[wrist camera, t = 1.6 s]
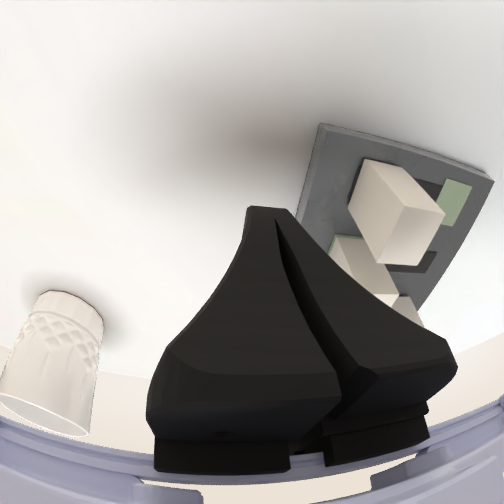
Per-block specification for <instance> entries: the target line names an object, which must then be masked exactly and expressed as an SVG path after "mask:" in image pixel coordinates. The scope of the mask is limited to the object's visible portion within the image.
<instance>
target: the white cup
mask: <svg viewBox="0 0 504 504" xmlns="http://www.w3.org/2000/svg"><path fill="white" fill-rule="evenodd" d="M103 332H104V327H103V321H102V318H101V317H100V316H99V315H98V313H97V312H96V311H95V309H94V308H93V307H91V306H90V305H88V304H87V303H86V302H84V301H83V300H81V299H80V298H78V297H75V296H73V295H70V294H68V293H65V292H59V291H48V292H46V293H44V294H42V295H40V296H39V297H38V299H37V301H36V303H35V305H34V307H33V309H32V311H31V313H30V315H29V318H28V319H27V321H26V322H25V323H24V325H23V327H22V329H21V331H20V333H19V335H18V337H17V339H16V341H15V343H14V345H13V348H12V350H11V352H10V355H9V357H8V360H7V362H6V365H5V367H4V371H3V372H2V375H1V378H0V404H2V405H3V406H4V407H5V408H7V409H8V410H10V411H11V412H13V413H14V414H16V415H17V416H19V417H21V418H23V419H24V420H26V421H28V422H30V423H32V424H35V425H37V426H39V427H42V428H44V429H47V430H50V431H53V432H56V433H59V434H63V435H67V436H72V437H80V438H84V437H88V436H89V430H90V421H91V412H92V404H93V397H94V390H95V383H96V375H97V368H98V363H99V350H100V346H101V341H102V337H103Z"/></svg>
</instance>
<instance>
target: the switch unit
mask: <svg viewBox="0 0 504 504" xmlns="http://www.w3.org/2000/svg"><path fill="white" fill-rule="evenodd" d="M364 159H368V160H373V161H377V162H381V163H386V164H390V165H394V166H398V167H402V168H403V169H404V170H405V171H406V172H407V173H408V174H409V175H410V176H411V177H412V178H413V179H414V180H415V181H416V182H417V183H418V184H419V185H420V186H421V187H422V188H423V189H424V191H425V192H426V193H427V194H428V195H429V196H430V197H431V198H432V199H433V200H434V201H435V203H436V204H437V205H438V206H439V207H440V208H441V209H442V210H443V212H444V213H445V216H444V218H443V220H442V222H441V224H440V226H439V228H438V230H437V232H436V233H435V235H434V237H433V239H432V241H431V243H430V244H429V246H428V248H427V250H426V252H425V253H424V255H423V257H422V259H421V260H420V262H419V264H418V265H417V266H413V265H398V264H384V265H385V266H386V268H387V270H388V272H389V274H390V276H391V278H392V280H393V282H394V284H395V286H396V288H397V290H398V292H399V296H398V297H410V298H411V300H412V302H413V304H414V306H415V308H416V311H418V310H419V308H420V307H421V306H422V304H423V303H424V302H425V300H426V299H427V297H428V296H429V295H430V293H431V292H432V290H433V289H434V287H435V286H436V284H437V283H438V281H439V280H440V278H441V277H442V275H443V274H444V272H445V271H446V269H447V268H448V266H449V265H450V263H451V261H452V260H453V258H454V257H455V255H456V253H457V252H458V250H459V248H460V247H461V245H462V243H463V241H464V240H465V238H466V236H467V234H468V233H469V231H470V229H471V227H472V226H473V224H474V222H475V220H476V218H477V216H478V214H479V212H480V210H481V209H482V207H483V205H484V203H485V201H486V199H487V197H488V194H489V192H490V190H491V188H492V186H493V184H494V182H495V181H494V180H492V179H491V178H490V177H489V176H488V175H487V174H485V173H484V172H482V171H479V170H477V169H474V168H472V167H469V166H467V165H464V164H462V163H459V162H456V161H454V160H451V159H448V158H445V157H443V156H440V155H437V154H434V153H431V152H428V151H425V150H422V149H419V148H416V147H413V146H409V145H406V144H403V143H399V142H396V141H392V140H389V139H385V138H382V137H378V136H374V135H370V134H366V133H362V132H358V131H354V130H350V129H346V128H341V127H337V126H332V125H327V124H322V123H320V125H319V129H318V133H317V137H316V141H315V145H314V149H313V153H312V157H311V161H310V165H309V169H308V172H307V176H306V180H305V184H304V188H303V191H302V195H301V199H300V202H299V206H298V210H297V214H296V217H295V219H296V220H297V221H298V222H299V223H300V224H301V226H302V227H303V228H304V229H305V230H306V231H307V233H308V234H309V235H310V236H311V237H312V238H313V239H314V240H315V242H316V243H317V244H318V245H319V246H320V247H321V248H322V249H323V250H324V251H325V252H326V253H327V254H328V255H330V253H331V250H332V248H333V245H334V243H335V240H336V237H342V238H352V239H362V240H365V239H364V237H363V235H362V233H361V232H360V230H359V228H358V226H357V224H356V222H355V221H354V219H353V217H352V215H351V213H350V212H349V210H348V205H349V203H350V200H351V197H352V194H353V191H354V188H355V186H356V183H357V180H358V177H359V174H360V171H361V168H362V165H363V162H364Z"/></svg>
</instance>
